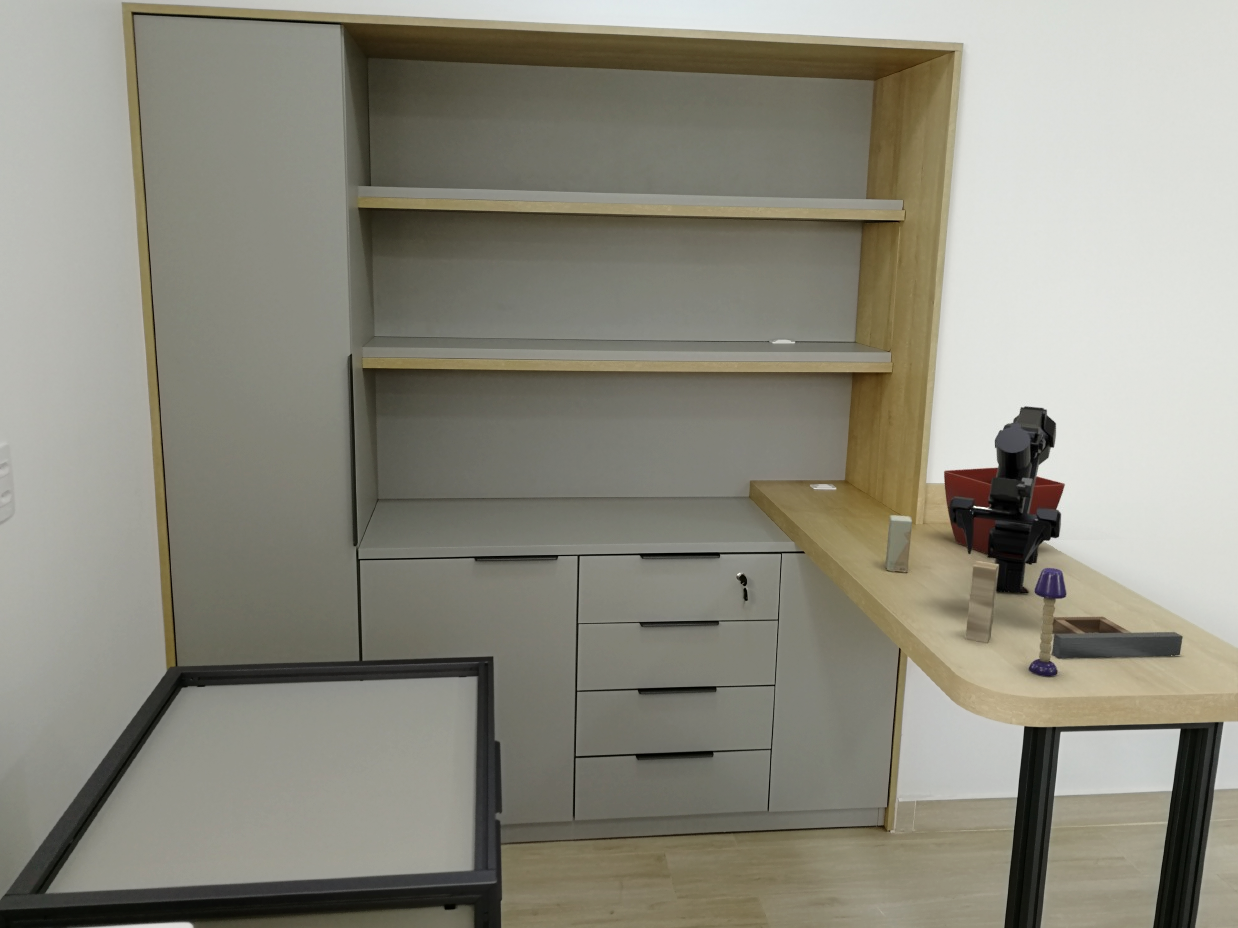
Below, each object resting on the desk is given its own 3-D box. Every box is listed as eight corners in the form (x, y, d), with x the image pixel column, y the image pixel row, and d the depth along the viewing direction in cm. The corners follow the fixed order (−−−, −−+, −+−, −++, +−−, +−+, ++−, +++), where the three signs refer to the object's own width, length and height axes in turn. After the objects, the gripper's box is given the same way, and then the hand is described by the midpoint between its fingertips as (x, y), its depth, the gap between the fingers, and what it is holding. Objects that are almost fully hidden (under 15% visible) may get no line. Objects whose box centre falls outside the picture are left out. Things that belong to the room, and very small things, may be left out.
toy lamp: (1024, 672, 162) (1036, 571, 159) (1025, 663, 166) (1037, 563, 163) (1057, 678, 160) (1070, 576, 157) (1057, 668, 165) (1070, 568, 161)
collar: (1049, 630, 182) (1051, 617, 182) (1101, 629, 184) (1102, 616, 183) (1082, 651, 173) (1084, 637, 172) (1136, 650, 174) (1138, 636, 174)
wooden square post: (969, 632, 180) (977, 560, 177) (990, 636, 178) (999, 564, 176) (965, 638, 177) (973, 565, 174) (987, 642, 175) (995, 569, 173)
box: (907, 573, 214) (912, 521, 212) (886, 571, 215) (891, 519, 213) (905, 566, 219) (910, 515, 217) (885, 564, 220) (889, 514, 218)
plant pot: (1058, 555, 233) (1067, 483, 230) (996, 563, 224) (1005, 488, 221) (994, 534, 250) (1002, 466, 246) (934, 541, 241) (941, 470, 238)
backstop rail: (1051, 653, 171) (1054, 633, 170) (1171, 651, 174) (1174, 631, 174) (1058, 658, 169) (1061, 638, 168) (1179, 655, 172) (1182, 636, 172)
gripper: (956, 453, 187) (938, 526, 180) (1067, 465, 179) (1053, 542, 171) (959, 486, 196) (943, 557, 188) (1065, 500, 187) (1052, 574, 180)
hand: (996, 557), depth 182 cm, fingers open, 9 cm apart
